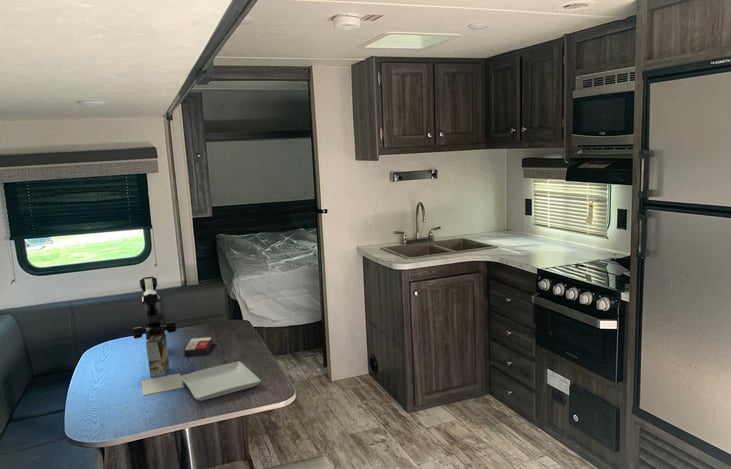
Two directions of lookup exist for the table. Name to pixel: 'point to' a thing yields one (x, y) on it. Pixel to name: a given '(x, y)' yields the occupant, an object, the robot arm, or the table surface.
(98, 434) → the table surface
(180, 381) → the mat
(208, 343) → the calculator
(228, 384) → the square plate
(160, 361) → the coffee box
